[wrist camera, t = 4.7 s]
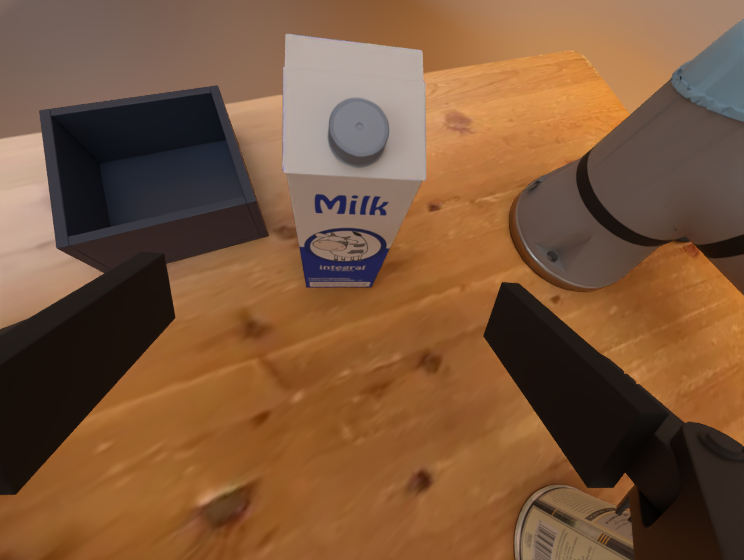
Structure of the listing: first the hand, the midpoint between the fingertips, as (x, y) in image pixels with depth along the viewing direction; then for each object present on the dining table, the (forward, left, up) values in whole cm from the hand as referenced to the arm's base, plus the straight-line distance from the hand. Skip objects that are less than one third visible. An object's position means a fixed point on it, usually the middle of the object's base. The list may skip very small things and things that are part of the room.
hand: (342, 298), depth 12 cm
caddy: (+17, -15, -18) cm, 29 cm away
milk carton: (0, -10, -19) cm, 21 cm away
